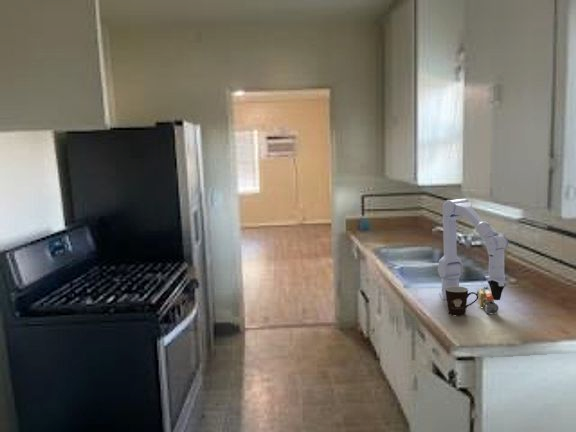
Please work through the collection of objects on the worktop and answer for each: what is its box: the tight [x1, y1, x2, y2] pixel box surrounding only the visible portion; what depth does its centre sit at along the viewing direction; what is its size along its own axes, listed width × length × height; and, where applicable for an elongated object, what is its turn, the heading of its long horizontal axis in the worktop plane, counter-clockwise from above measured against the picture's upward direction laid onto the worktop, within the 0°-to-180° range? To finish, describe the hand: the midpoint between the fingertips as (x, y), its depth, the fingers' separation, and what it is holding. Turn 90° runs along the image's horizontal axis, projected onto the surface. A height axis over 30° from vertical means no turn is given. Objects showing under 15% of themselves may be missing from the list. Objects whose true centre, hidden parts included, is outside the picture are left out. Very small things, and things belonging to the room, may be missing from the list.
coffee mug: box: [445, 285, 478, 317], centre depth 204 cm, size 12×9×10 cm
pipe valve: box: [476, 288, 499, 315], centre depth 210 cm, size 20×5×6 cm, turn 172°
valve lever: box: [482, 286, 493, 301], centre depth 206 cm, size 14×3×2 cm, turn 166°
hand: (496, 299), depth 202 cm, fingers closed
